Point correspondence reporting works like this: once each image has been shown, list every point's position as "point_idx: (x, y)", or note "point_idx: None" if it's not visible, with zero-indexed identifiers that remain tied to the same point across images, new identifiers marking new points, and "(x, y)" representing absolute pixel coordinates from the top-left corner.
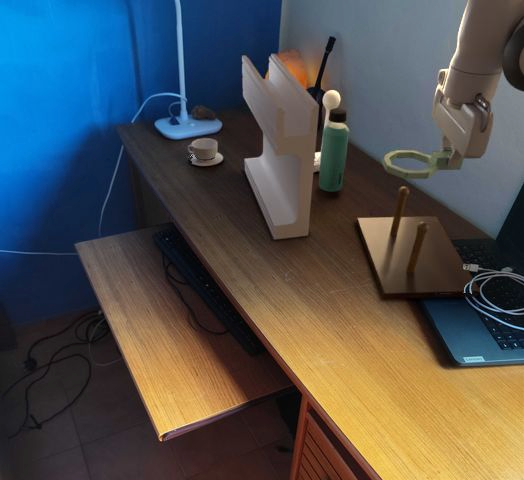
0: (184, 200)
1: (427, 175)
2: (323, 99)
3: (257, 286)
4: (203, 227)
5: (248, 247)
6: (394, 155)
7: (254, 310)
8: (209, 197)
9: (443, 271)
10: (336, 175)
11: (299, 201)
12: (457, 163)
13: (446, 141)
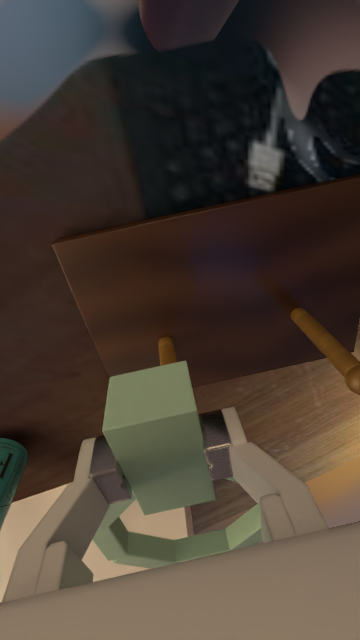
0: None
1: None
2: None
3: (297, 468)
4: None
5: (216, 490)
6: (144, 552)
7: (339, 461)
8: None
9: (306, 250)
10: (9, 480)
11: (191, 523)
12: (239, 421)
13: (81, 530)
